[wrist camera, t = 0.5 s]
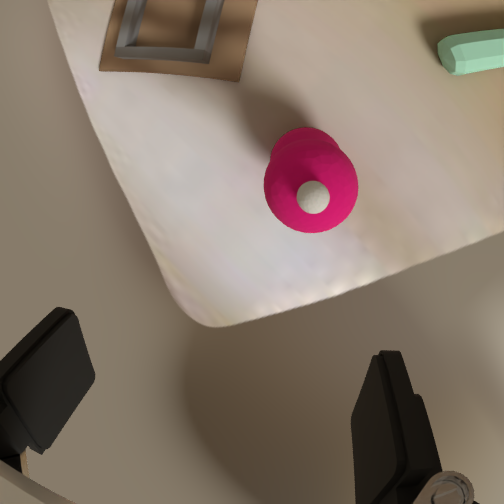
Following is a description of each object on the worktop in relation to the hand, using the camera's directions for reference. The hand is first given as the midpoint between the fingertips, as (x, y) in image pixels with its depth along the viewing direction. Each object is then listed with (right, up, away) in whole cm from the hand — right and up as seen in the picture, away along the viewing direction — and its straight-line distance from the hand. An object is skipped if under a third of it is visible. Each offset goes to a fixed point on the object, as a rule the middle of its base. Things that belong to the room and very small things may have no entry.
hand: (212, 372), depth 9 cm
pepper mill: (+7, +14, +26) cm, 30 cm away
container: (+34, +30, +15) cm, 47 cm away
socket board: (-8, +31, +21) cm, 38 cm away
